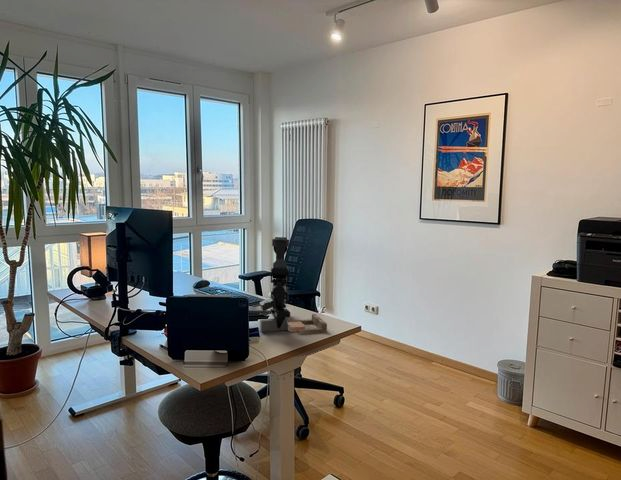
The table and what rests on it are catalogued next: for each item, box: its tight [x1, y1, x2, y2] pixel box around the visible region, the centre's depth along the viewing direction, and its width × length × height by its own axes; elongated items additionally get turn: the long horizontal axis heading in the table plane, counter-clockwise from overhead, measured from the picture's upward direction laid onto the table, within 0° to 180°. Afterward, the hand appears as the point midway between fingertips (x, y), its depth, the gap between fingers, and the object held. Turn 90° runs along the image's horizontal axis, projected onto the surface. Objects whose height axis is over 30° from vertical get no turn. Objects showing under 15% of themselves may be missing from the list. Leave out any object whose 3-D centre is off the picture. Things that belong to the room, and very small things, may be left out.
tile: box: [287, 321, 306, 333], centre depth 199 cm, size 7×7×2 cm
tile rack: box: [289, 313, 328, 335], centre depth 201 cm, size 15×13×4 cm
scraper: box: [259, 317, 290, 333], centre depth 195 cm, size 13×7×5 cm, turn 109°
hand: (277, 326), depth 196 cm, fingers closed on scraper, 3 cm apart
